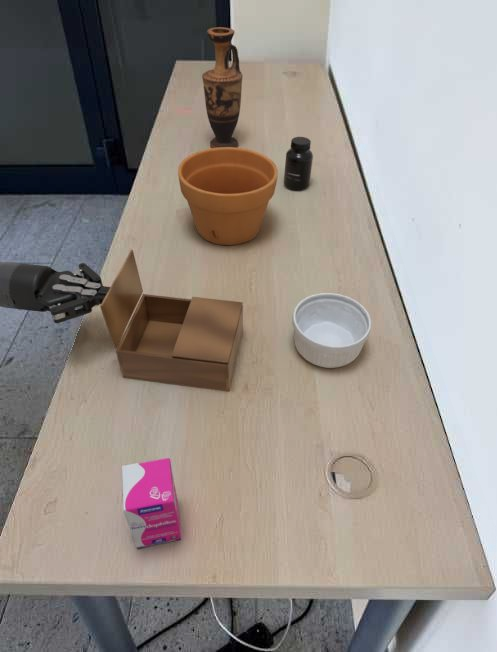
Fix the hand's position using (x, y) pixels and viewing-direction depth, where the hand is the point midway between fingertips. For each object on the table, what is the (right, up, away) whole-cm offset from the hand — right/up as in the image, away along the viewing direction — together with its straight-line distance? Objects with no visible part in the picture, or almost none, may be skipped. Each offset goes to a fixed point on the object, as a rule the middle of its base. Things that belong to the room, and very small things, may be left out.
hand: (122, 297), depth 78 cm
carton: (+9, -9, +7) cm, 15 cm away
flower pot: (+16, +18, +35) cm, 43 cm away
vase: (+13, +49, +66) cm, 84 cm away
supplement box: (+8, -31, -14) cm, 35 cm away
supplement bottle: (+33, +32, +50) cm, 68 cm away
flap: (0, 0, 0) cm, 0 cm away
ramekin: (+34, -8, +9) cm, 36 cm away
